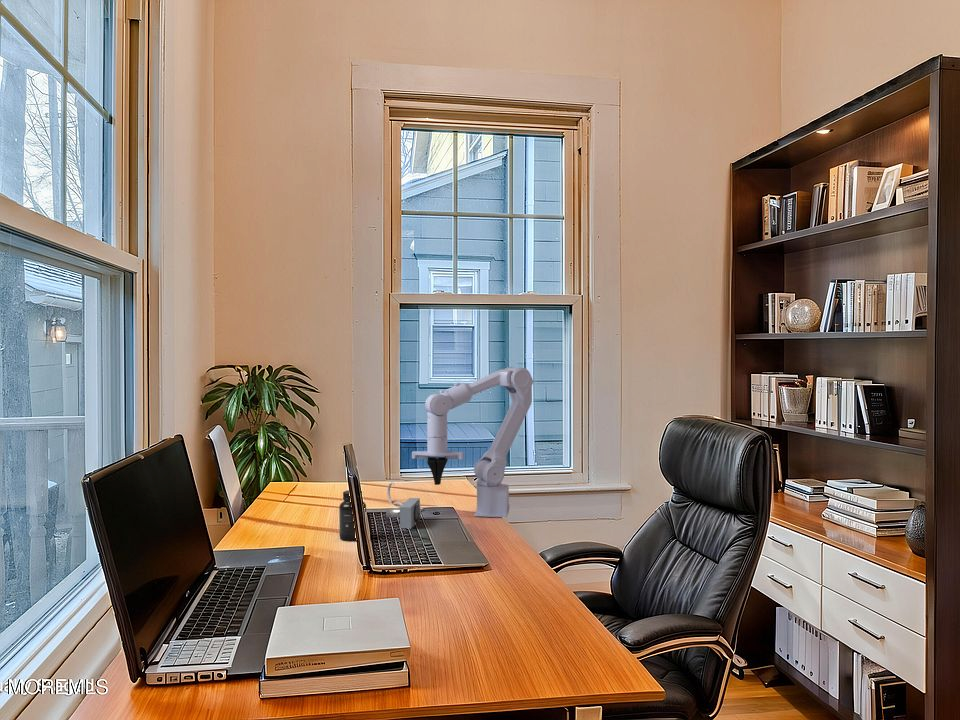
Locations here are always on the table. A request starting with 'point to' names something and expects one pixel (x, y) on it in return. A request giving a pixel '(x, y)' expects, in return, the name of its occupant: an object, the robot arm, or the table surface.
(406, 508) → the hitch block
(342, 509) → the supplement bottle
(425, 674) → the table surface
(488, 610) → the table surface
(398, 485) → the table surface
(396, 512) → the pin
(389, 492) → the hook
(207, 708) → the table surface
